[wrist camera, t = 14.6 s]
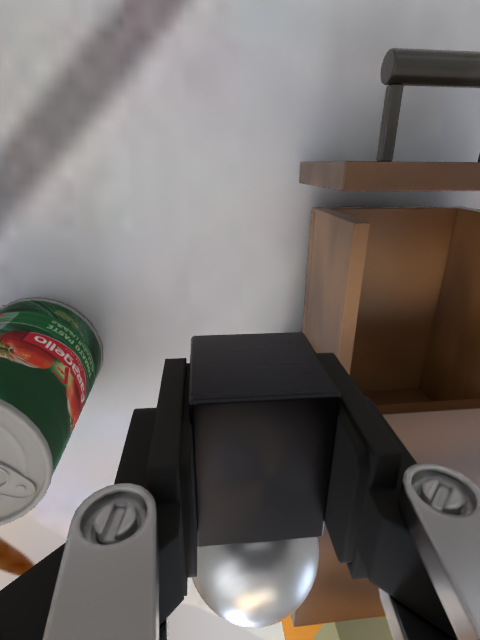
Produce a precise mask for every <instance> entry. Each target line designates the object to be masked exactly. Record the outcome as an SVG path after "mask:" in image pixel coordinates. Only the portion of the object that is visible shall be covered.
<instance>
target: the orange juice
mask: <svg viewBox="0 0 480 640" xmlns="http://www.w3.org/2000/svg"><path fill="white" fill-rule="evenodd" d="M282 625H283V630H284V635H285V640H393V637H392V634H391V631H390V628H389V624H388V621H387V618H386V616H380V617H372V618H364V619H356V620H348V621H340V622H332V623H324V624H316V625H308V626H300V627H293V623H292V619H291V615H290V616H288V617H287V618H285V619H284V620H282Z"/></svg>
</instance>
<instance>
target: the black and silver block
mask: <svg viewBox="0 0 480 640" xmlns="http://www.w3.org/2000/svg"><path fill="white" fill-rule="evenodd" d="M340 402H341V393H340V391H339V390H338V388H337V386H336V385H335V383H334V382H333V380H332V378H331V377H330V375H329V373H328V372H327V370H326V368H325V367H324V365H323V364H322V362H321V360H320V359H319V357H318V355H317V354H316V352H315V350H314V349H313V347H312V346H311V344H310V342H309V341H308V339H307V337H306V336H305V334H304V333H302V332H295V333H266V334H237V335H208V336H193V337H192V339H191V354H190V375H189V397H188V409H189V422H190V424H192V433H193V453H194V474H195V494H196V514H197V577H192V579H193V582H194V585H195V587H196V589H197V591H198V593H199V594H200V596H201V597H202V599H203V600H204V601H205V603H206V604H207V605H208V606H209V607H210V608H211V609H212V610H213V611H214V612H215V613H216V614H217V615H219V616H220V617H222V618H223V619H225V620H227V621H228V622H231V623H233V624H236V625H239V626H243V627H250V628H258V627H266V626H270V625H273V624H276V623H278V622H280V621H282V620H284V619H285V618H287V617H288V616H290V615H291V614H292V613H293V612H295V611H296V610H297V609H298V607H299V606H300V605H301V604H302V603H303V601H304V600H305V599H306V597H307V595H308V594H309V592H310V590H311V588H312V586H313V583H314V580H315V577H316V573H317V569H318V563H319V542H318V537H321V536H323V531H324V524H325V522H324V521H325V513H326V505H327V498H328V490H329V482H330V475H331V467H332V459H333V452H334V444H335V436H336V429H337V421H338V415H339V410H340Z"/></svg>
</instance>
